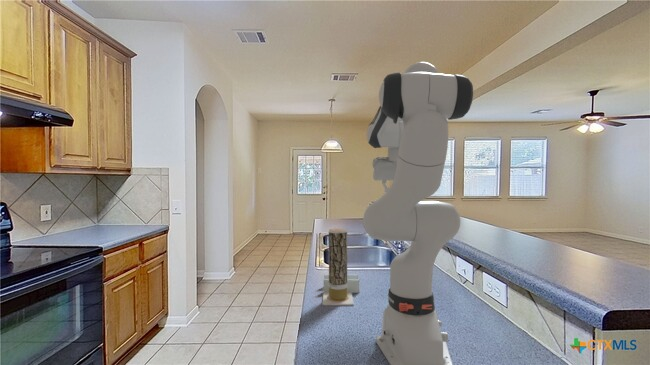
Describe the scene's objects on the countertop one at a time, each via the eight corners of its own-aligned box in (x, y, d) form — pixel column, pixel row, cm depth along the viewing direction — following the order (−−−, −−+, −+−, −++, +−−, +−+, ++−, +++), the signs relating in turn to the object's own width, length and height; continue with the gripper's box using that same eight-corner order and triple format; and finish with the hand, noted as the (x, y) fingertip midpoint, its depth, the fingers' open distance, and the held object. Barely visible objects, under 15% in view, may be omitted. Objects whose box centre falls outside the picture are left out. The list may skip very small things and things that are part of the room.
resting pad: (353, 305, 112) (353, 303, 112) (322, 305, 113) (322, 303, 113) (351, 293, 123) (351, 292, 123) (323, 293, 124) (323, 291, 124)
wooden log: (340, 302, 113) (340, 232, 112) (325, 298, 117) (325, 230, 116) (350, 296, 119) (350, 229, 118) (335, 292, 123) (335, 228, 122)
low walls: (359, 292, 124) (359, 280, 124) (323, 292, 125) (323, 279, 125) (358, 286, 131) (358, 274, 131) (324, 286, 131) (324, 274, 131)
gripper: (373, 156, 123) (373, 192, 123) (427, 156, 122) (426, 192, 123) (371, 157, 129) (371, 191, 130) (422, 157, 129) (422, 191, 129)
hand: (398, 192), depth 126 cm, fingers open, 8 cm apart
